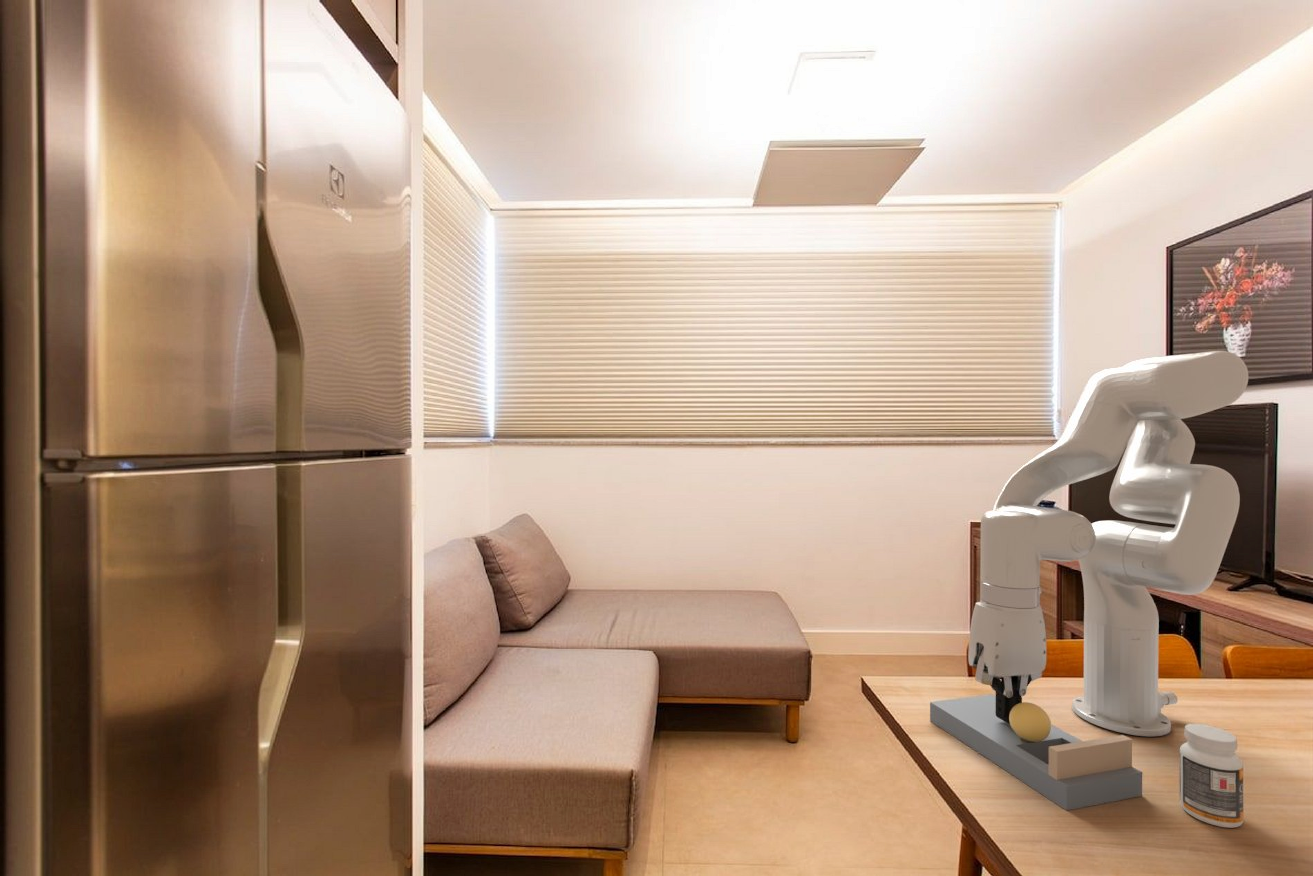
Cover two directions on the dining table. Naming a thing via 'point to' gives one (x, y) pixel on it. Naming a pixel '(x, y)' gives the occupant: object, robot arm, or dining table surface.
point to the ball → (1030, 722)
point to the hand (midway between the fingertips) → (1008, 720)
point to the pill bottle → (1211, 776)
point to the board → (1044, 755)
